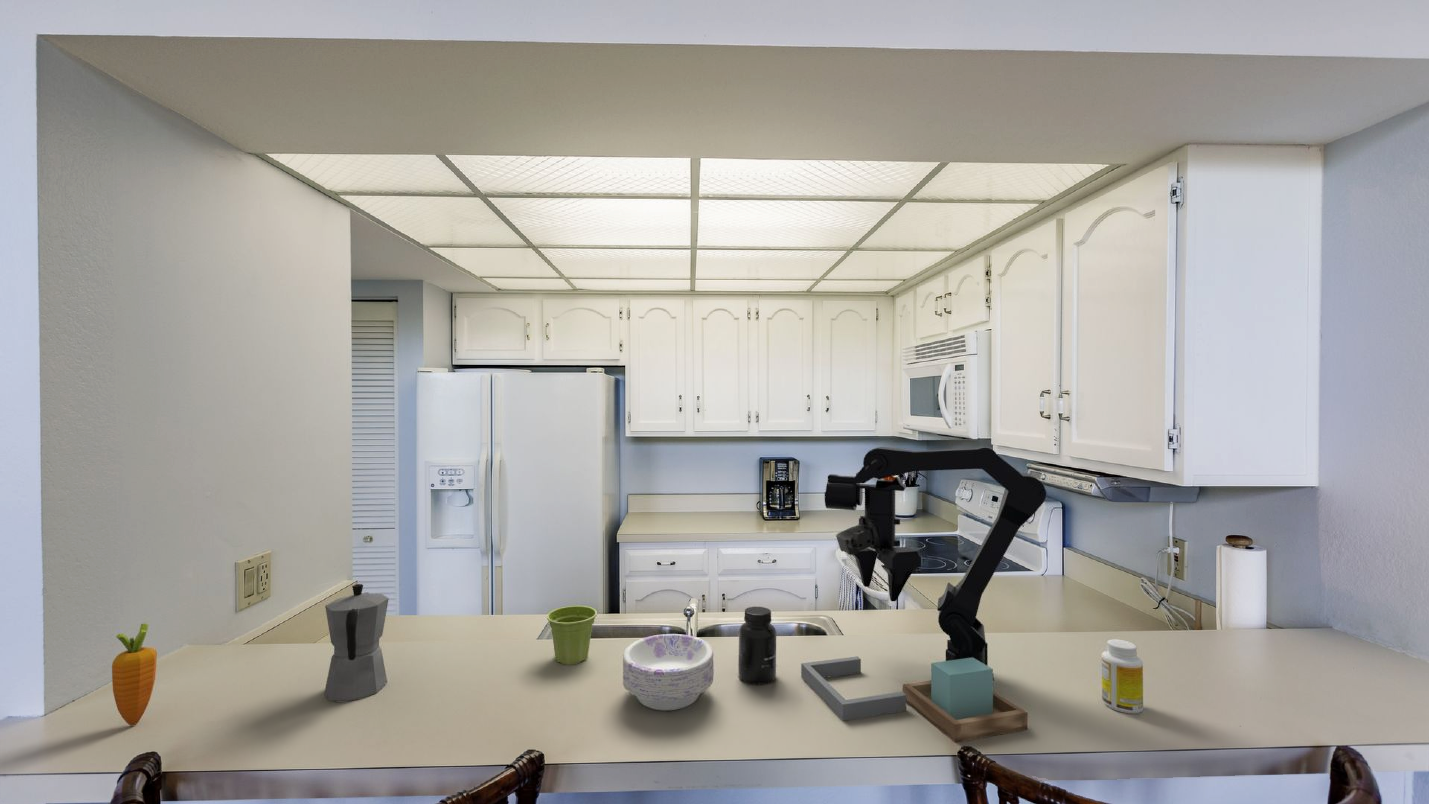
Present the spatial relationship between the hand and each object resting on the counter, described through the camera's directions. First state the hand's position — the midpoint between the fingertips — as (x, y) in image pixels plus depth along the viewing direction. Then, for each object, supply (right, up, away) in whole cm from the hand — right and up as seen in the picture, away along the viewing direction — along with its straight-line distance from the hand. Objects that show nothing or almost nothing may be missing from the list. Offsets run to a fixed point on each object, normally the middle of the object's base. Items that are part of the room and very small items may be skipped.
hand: (879, 593), depth 113 cm
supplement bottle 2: (+35, -13, -17) cm, 41 cm away
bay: (-8, -13, -12) cm, 20 cm away
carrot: (-120, -12, -24) cm, 123 cm away
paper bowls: (-40, -13, -14) cm, 44 cm away
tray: (+8, -13, -19) cm, 25 cm away
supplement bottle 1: (-24, -13, -7) cm, 28 cm away
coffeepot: (-93, -13, -13) cm, 95 cm away
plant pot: (-59, -13, +1) cm, 61 cm away
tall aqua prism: (+8, -12, -19) cm, 24 cm away
